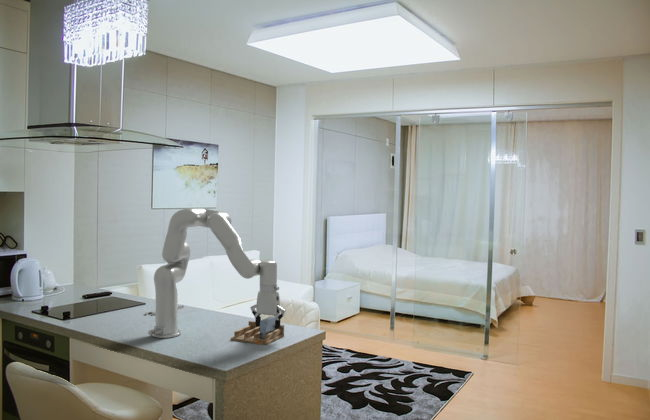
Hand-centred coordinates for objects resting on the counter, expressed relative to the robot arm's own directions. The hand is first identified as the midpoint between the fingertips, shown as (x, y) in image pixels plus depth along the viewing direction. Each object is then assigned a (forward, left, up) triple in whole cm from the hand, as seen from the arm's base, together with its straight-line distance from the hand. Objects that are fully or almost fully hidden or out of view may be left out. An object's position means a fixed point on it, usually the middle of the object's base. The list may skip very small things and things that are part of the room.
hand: (267, 327), depth 226 cm
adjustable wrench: (+24, +77, -6) cm, 80 cm away
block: (0, 0, -4) cm, 4 cm away
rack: (0, +5, -5) cm, 7 cm away
